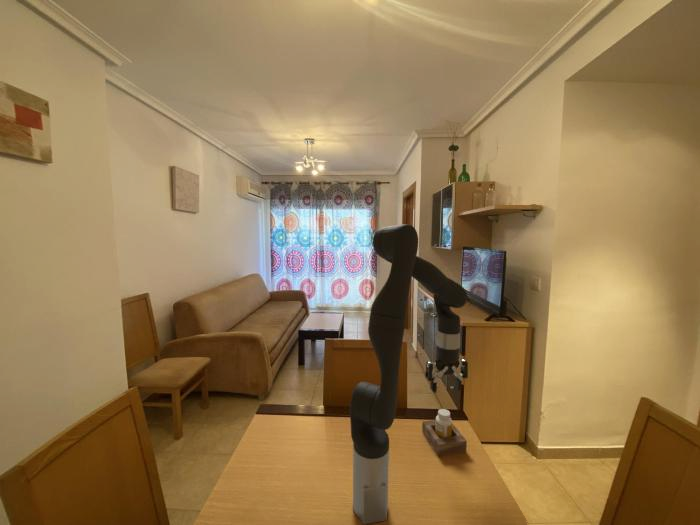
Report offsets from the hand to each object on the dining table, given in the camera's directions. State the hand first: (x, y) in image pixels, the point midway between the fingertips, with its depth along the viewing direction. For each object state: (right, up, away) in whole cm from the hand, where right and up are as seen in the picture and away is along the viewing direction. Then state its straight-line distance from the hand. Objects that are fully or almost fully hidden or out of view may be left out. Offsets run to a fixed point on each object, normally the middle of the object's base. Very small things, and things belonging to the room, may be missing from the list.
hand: (445, 390), depth 101 cm
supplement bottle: (0, -18, +2) cm, 18 cm away
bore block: (0, -19, +2) cm, 19 cm away
